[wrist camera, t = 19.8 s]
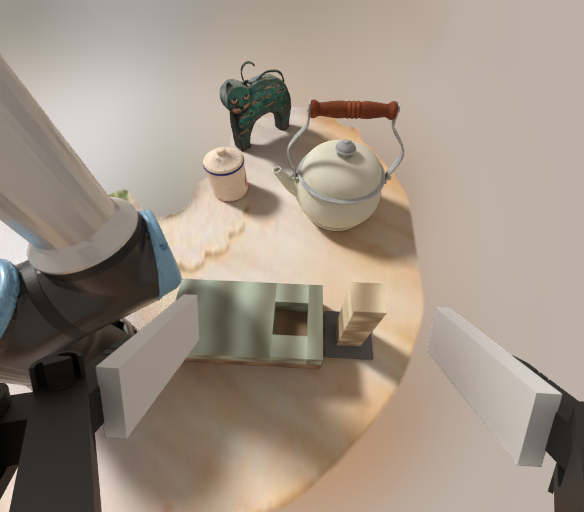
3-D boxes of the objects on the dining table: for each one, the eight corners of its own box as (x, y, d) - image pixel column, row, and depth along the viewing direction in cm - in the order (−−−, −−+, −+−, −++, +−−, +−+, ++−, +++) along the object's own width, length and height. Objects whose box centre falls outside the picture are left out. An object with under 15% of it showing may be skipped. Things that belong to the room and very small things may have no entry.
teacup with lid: (256, 191, 68) (250, 151, 58) (224, 208, 65) (211, 169, 55) (231, 166, 73) (221, 125, 63) (200, 181, 70) (185, 140, 60)
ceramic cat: (239, 156, 75) (223, 77, 58) (226, 145, 78) (207, 66, 61) (294, 128, 82) (294, 50, 65) (280, 119, 84) (277, 41, 68)
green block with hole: (177, 360, 46) (160, 350, 40) (194, 295, 53) (182, 278, 47) (319, 369, 45) (322, 360, 39) (319, 301, 52) (322, 285, 46)
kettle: (376, 182, 69) (412, 74, 48) (386, 241, 59) (437, 138, 38) (278, 179, 70) (271, 72, 49) (271, 237, 60) (260, 133, 39)
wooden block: (336, 345, 47) (354, 311, 33) (335, 322, 49) (352, 282, 36) (360, 346, 47) (386, 313, 33) (358, 323, 49) (382, 283, 35)
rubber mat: (325, 356, 46) (325, 356, 46) (324, 312, 51) (324, 311, 50) (372, 359, 46) (373, 358, 46) (367, 314, 50) (368, 313, 50)
